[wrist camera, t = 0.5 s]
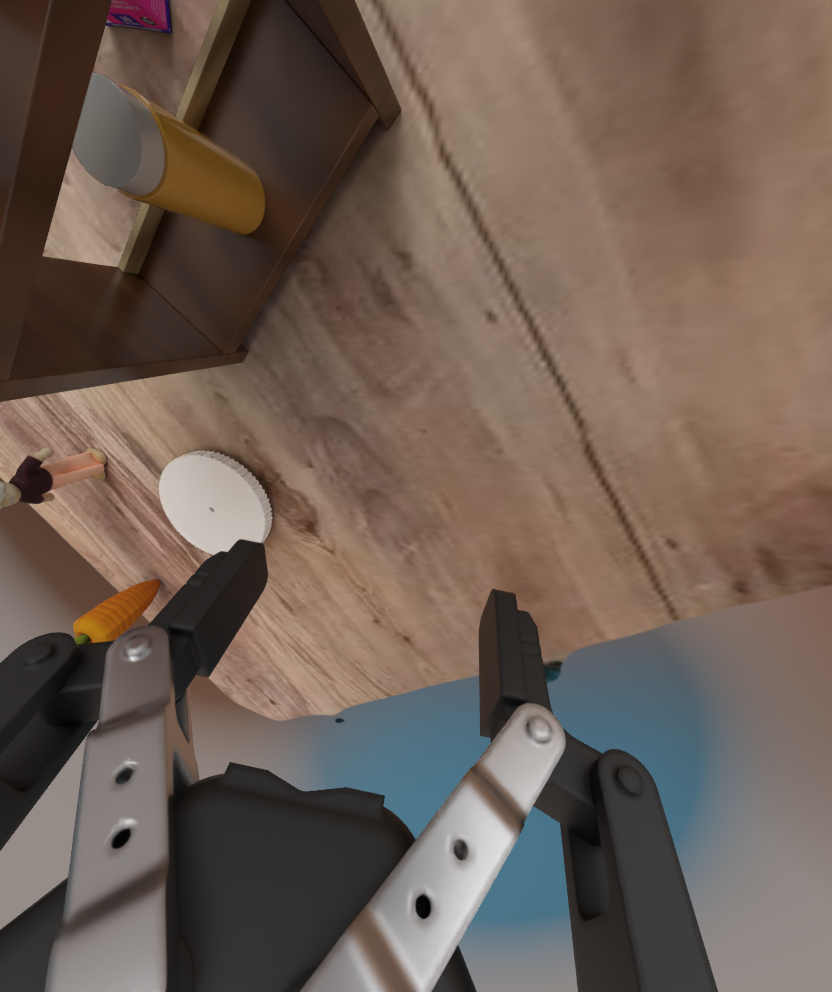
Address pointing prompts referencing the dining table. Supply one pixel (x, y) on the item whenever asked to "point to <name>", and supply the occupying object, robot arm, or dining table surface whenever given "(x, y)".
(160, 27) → the supplement box
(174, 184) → the shaker
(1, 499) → the grandmother figurine
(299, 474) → the dining table surface
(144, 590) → the carrot
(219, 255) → the spice rack
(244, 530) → the plastic lid
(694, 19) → the dining table surface
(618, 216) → the dining table surface
